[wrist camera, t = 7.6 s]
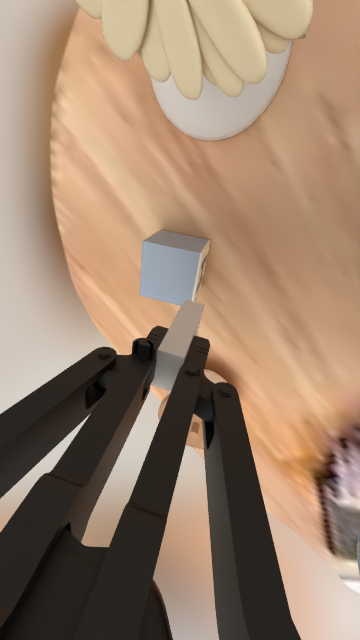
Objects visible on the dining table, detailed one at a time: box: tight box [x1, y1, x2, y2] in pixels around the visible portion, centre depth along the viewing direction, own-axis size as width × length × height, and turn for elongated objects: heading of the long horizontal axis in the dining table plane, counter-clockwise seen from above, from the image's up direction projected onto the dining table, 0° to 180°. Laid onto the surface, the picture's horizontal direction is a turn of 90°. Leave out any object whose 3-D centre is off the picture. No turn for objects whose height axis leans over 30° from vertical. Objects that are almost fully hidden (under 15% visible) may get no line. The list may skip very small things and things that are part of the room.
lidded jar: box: [158, 369, 227, 449], centre depth 36 cm, size 11×11×9 cm
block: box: [140, 230, 211, 306], centre depth 28 cm, size 6×6×6 cm
